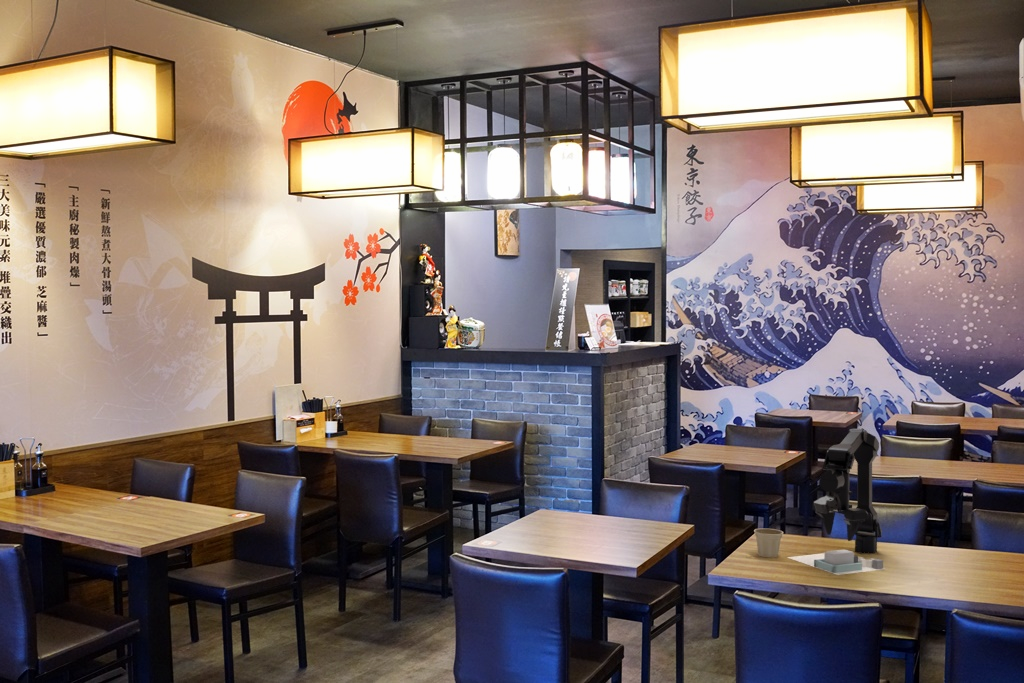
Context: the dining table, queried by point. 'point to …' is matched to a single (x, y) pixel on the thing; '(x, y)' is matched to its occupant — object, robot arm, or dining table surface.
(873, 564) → the grey blocky piece
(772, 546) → the flower pot
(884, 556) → the dining table surface
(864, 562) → the clips
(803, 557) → the board
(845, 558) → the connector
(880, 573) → the dining table surface
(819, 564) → the holder
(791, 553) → the dining table surface
